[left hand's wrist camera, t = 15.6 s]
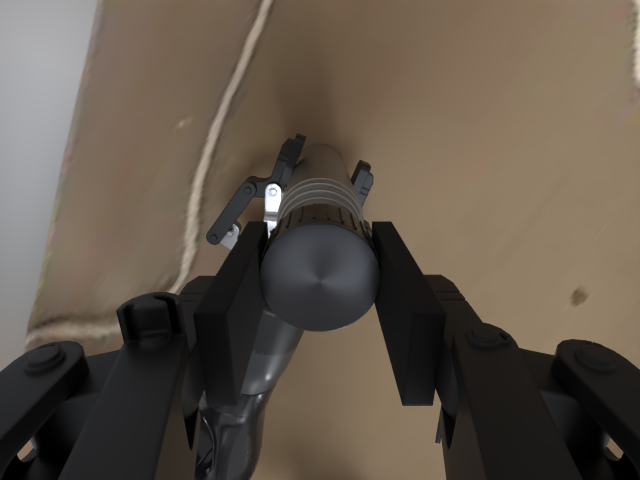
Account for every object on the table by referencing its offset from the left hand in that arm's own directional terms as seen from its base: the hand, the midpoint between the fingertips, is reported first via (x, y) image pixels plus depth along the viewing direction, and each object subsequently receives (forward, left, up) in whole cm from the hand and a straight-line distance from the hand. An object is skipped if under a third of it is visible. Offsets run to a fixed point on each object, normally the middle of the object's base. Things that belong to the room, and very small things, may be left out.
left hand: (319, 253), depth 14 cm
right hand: (-3, 0, -13) cm, 14 cm away
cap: (0, 0, +2) cm, 2 cm away
